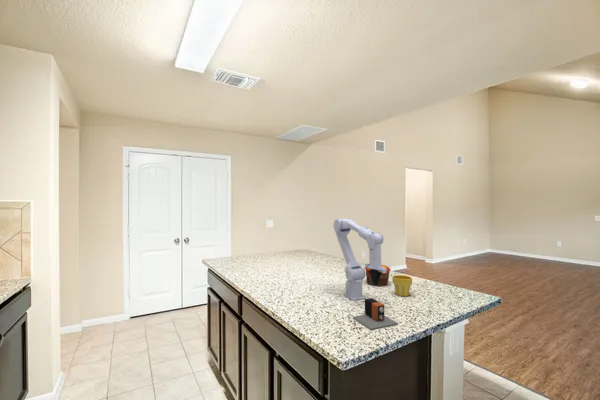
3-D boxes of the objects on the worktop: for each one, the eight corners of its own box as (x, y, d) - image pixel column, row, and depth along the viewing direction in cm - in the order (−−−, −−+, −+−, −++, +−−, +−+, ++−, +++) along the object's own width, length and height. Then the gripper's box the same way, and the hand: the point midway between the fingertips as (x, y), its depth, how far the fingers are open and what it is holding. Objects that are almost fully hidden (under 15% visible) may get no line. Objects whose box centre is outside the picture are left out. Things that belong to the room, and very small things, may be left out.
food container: (393, 287, 173) (393, 269, 173) (367, 287, 173) (367, 269, 174) (386, 280, 189) (386, 264, 189) (362, 280, 189) (362, 263, 189)
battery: (372, 297, 132) (386, 305, 123) (372, 312, 132) (386, 320, 123) (364, 298, 130) (377, 306, 121) (364, 313, 130) (377, 322, 121)
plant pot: (394, 290, 167) (394, 273, 167) (413, 293, 161) (413, 276, 162) (390, 295, 158) (390, 277, 158) (410, 298, 153) (410, 280, 153)
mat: (352, 318, 127) (352, 316, 127) (378, 313, 132) (378, 312, 132) (370, 330, 115) (370, 328, 115) (398, 324, 120) (398, 323, 120)
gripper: (360, 255, 148) (360, 282, 147) (378, 260, 134) (378, 289, 134) (371, 254, 150) (371, 280, 150) (389, 259, 137) (390, 287, 137)
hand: (375, 284), depth 142 cm, fingers closed
